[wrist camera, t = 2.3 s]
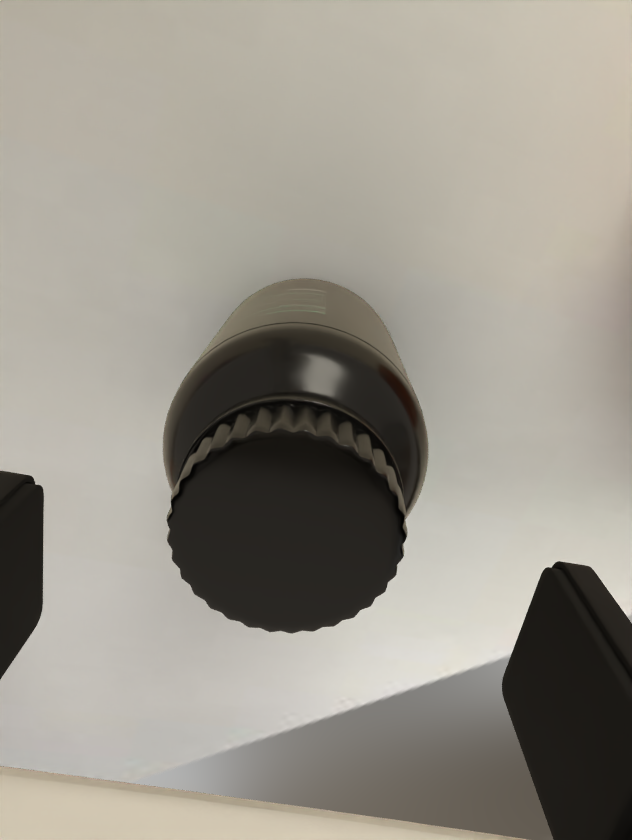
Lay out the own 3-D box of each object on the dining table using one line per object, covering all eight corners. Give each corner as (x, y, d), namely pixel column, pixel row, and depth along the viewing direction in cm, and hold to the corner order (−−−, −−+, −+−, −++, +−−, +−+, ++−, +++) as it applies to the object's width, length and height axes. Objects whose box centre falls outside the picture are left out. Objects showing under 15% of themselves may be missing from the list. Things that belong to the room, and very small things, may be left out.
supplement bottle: (400, 436, 24) (466, 658, 13) (234, 454, 24) (156, 685, 13) (386, 264, 21) (453, 351, 10) (201, 288, 22) (69, 397, 10)
